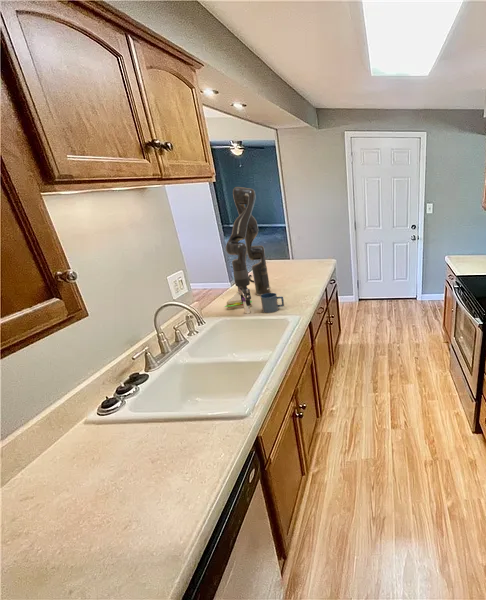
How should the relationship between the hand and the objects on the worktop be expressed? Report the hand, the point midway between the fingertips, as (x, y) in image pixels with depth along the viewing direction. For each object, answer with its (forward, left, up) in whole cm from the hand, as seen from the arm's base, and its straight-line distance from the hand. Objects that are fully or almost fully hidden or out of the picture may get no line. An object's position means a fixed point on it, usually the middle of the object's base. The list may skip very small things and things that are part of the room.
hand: (246, 303), depth 193 cm
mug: (+6, +13, -6) cm, 16 cm away
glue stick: (0, 0, -6) cm, 6 cm away
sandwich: (-18, +2, -6) cm, 19 cm away
